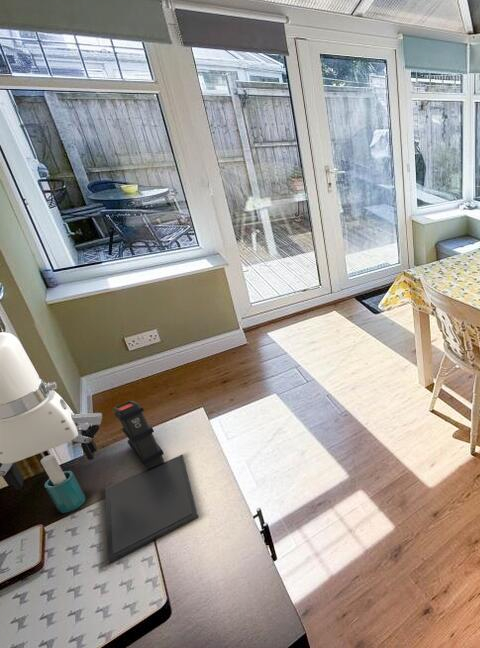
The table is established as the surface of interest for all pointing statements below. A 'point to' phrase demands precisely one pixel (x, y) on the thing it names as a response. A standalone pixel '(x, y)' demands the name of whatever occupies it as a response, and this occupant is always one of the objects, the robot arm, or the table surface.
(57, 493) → the pen pot
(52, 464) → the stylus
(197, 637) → the table surface
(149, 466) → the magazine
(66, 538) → the table surface
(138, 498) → the tablet
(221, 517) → the table surface
